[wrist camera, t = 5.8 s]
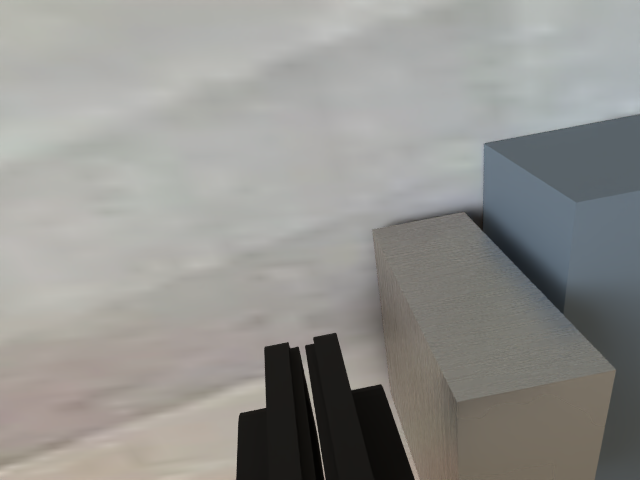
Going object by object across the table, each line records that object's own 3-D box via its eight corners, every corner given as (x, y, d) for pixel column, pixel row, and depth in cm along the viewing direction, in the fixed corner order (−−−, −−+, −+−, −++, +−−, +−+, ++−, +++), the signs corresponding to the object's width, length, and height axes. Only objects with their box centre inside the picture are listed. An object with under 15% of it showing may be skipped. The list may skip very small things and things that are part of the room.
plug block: (690, 168, 13) (1002, 290, 7) (650, 339, 15) (855, 517, 10) (372, 229, 12) (456, 402, 7) (390, 392, 15) (460, 603, 10)
